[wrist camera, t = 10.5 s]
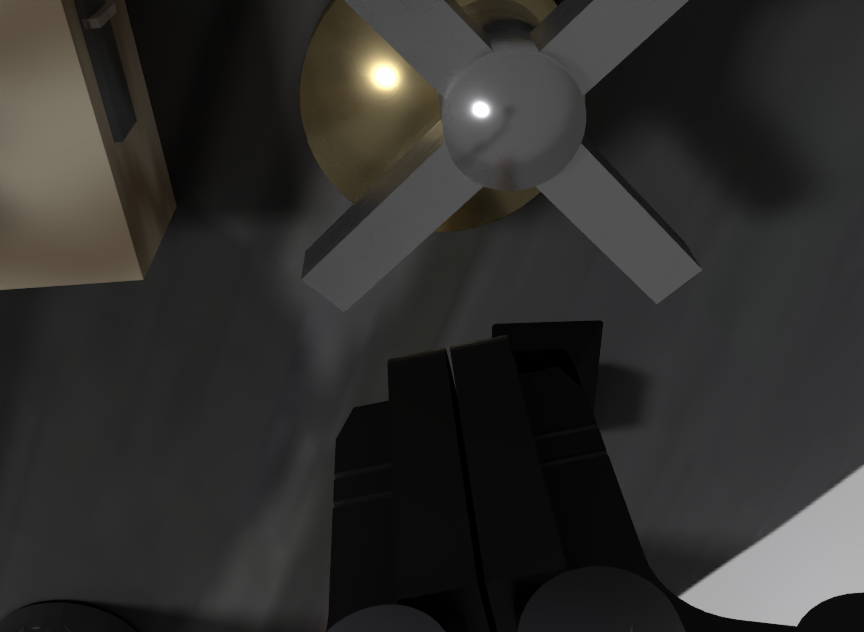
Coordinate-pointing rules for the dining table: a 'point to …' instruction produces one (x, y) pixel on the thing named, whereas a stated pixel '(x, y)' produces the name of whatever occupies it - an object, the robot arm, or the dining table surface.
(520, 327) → the black angular block
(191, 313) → the dining table surface
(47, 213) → the cardboard box
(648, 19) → the capstan
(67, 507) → the dining table surface
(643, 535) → the dining table surface
